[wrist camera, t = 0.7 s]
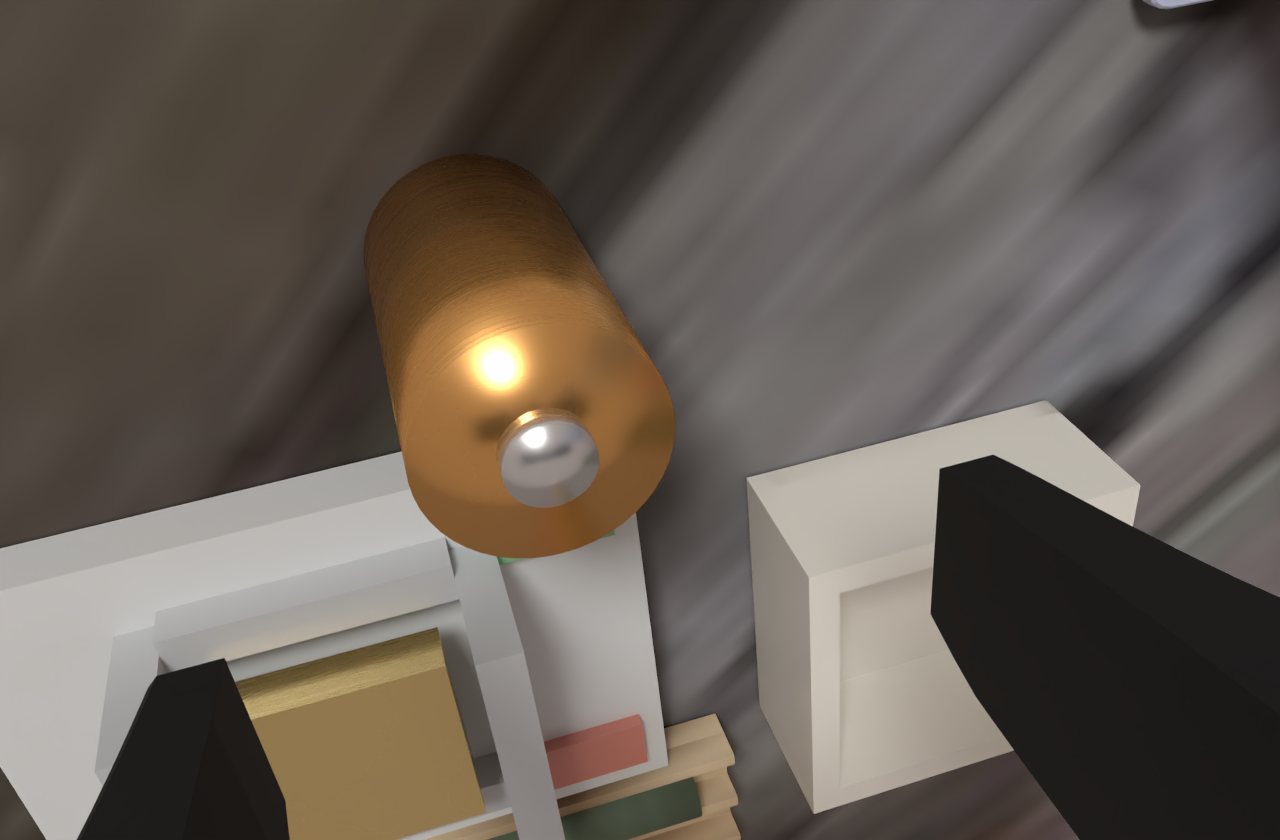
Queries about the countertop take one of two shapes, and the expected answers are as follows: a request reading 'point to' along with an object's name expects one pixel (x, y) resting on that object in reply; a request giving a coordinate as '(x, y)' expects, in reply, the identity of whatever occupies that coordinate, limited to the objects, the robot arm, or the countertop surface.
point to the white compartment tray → (327, 635)
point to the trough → (648, 797)
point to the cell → (509, 363)
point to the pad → (367, 741)
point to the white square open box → (885, 600)
